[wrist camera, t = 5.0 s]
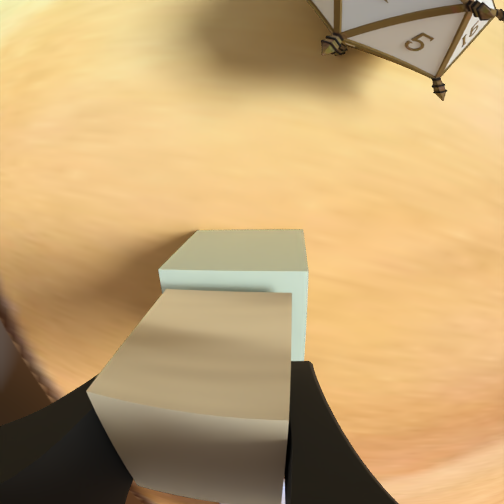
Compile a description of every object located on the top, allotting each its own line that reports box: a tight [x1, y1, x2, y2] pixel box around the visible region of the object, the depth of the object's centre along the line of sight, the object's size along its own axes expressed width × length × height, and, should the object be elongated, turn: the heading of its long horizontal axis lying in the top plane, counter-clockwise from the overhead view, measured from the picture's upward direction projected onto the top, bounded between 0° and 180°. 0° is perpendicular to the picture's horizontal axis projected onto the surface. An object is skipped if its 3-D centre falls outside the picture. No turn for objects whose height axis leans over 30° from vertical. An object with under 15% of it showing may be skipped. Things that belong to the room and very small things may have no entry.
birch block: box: [86, 289, 292, 504], centre depth 8 cm, size 4×4×5 cm
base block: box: [158, 229, 308, 361], centre depth 13 cm, size 5×5×5 cm
